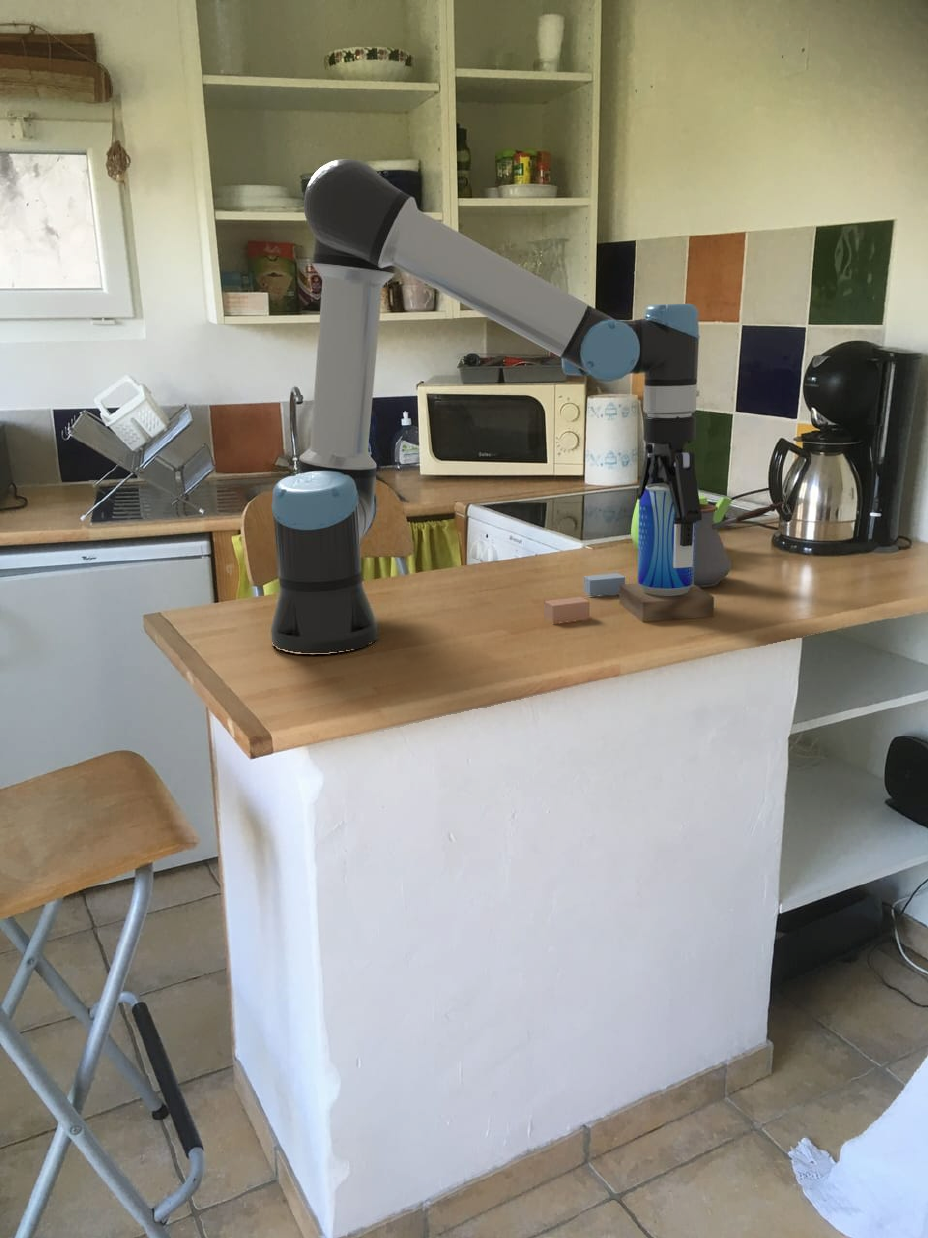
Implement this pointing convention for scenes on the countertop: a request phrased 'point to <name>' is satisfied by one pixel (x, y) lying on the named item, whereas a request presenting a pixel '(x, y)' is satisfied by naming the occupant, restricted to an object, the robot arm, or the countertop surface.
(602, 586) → the greyblue brick
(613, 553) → the countertop surface
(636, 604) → the walnut slab
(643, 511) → the beer can
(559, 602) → the terracotta brick
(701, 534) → the coffee pot
